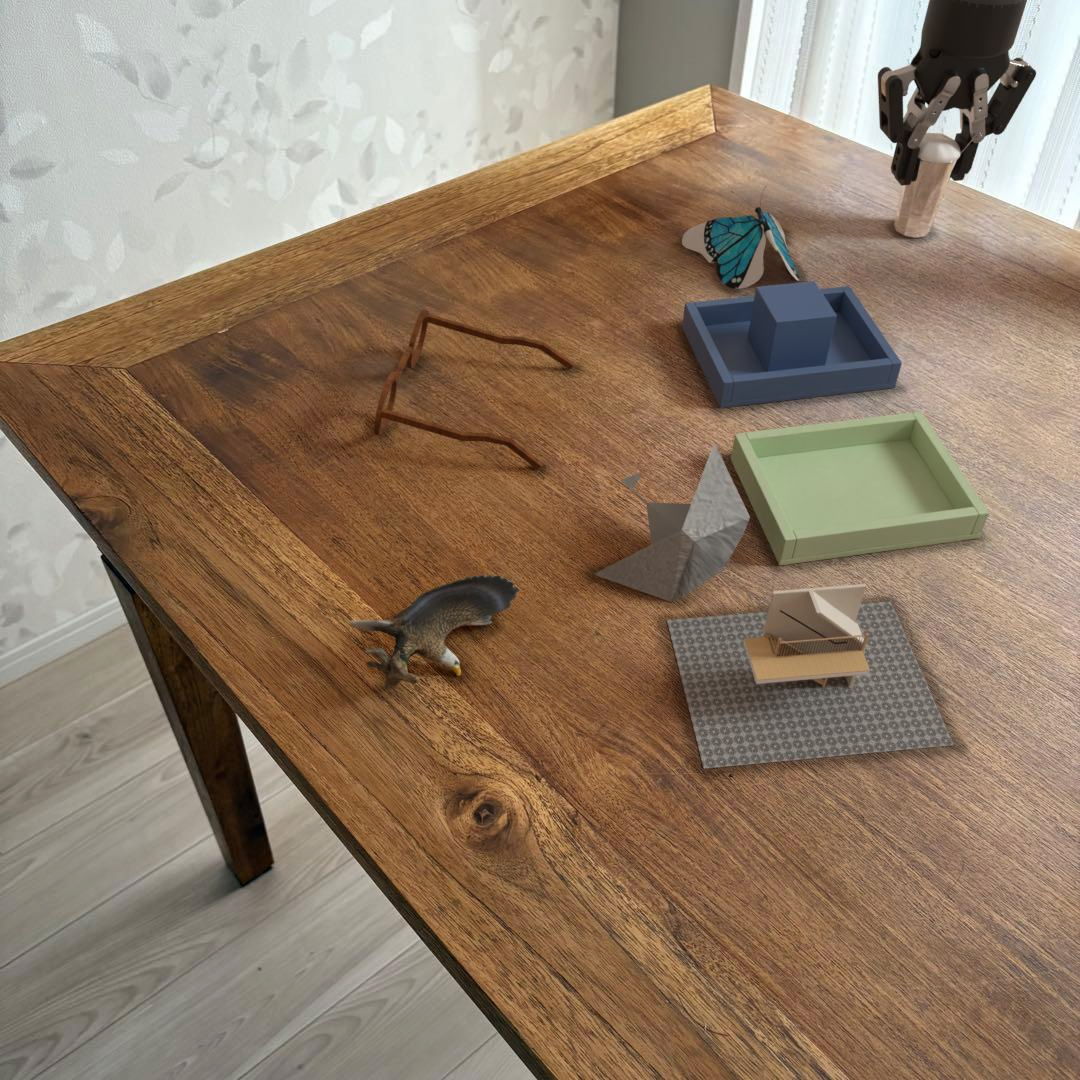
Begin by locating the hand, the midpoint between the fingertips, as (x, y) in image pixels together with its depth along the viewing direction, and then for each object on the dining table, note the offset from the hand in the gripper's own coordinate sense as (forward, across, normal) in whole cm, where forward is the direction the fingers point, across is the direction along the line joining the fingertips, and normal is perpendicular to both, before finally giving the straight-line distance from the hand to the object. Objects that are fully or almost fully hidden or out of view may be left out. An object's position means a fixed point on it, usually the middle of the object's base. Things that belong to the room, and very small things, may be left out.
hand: (928, 178), depth 102 cm
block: (+5, -19, -17) cm, 26 cm away
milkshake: (+6, 0, 0) cm, 6 cm away
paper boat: (+6, -34, -37) cm, 50 cm away
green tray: (+5, -20, -34) cm, 40 cm away
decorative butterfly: (+6, -17, -3) cm, 18 cm away
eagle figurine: (+6, -51, -43) cm, 67 cm away
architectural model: (+6, -29, -49) cm, 57 cm away
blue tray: (+5, -19, -17) cm, 26 cm away
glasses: (+6, -45, -19) cm, 49 cm away
